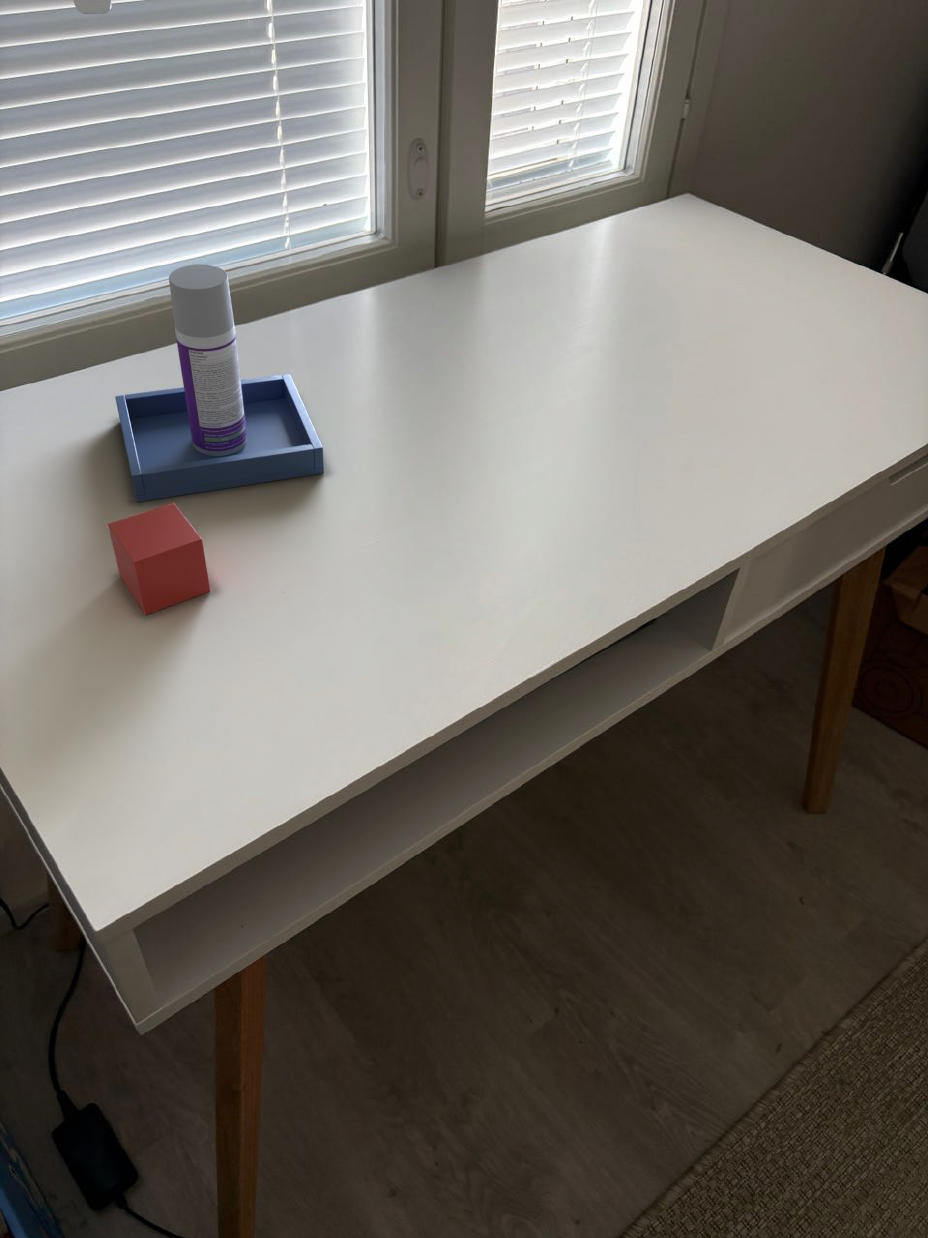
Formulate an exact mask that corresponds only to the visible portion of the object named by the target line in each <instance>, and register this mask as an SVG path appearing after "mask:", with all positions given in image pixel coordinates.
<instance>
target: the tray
mask: <svg viewBox="0 0 928 1238" xmlns="http://www.w3.org/2000/svg"><path fill="white" fill-rule="evenodd" d="M241 387H242V396H243V406H244V415H245V424H246V433H247V443H246V445H245V446H244V447H243V448H242V449H241V450H239V451H238V452H236V453H233V454H230V455H225V456H210V455H205V454H203V453H200V452H199V451H197V450H196V449H195V448H194V446H193V442H192V436H191V430H190V423H189V417H188V411H187V404H186V398H185V391H184V386H183V387H175V388H167V389H158V390H151V391H144V392H136V393H127V394H122V395H116V396H115V398H114V400H115V405H116V408H117V412H118V418H119V423H120V427H121V433H122V437H123V443H124V447H125V453H126V456H127V461H128V466H129V472H130V476H131V480H132V487H133V490H134V491H133V492H134V495H135V496H134V497H135V500H136V502H137V503H140V502H141V503H142V502H147V501H153V500H159V499H166V498H173V497H179V496H186V495H192V494H198V493H204V492H211V491H217V490H223V489H224V490H225V489H230V488H237V487H244V486H249V485H255V484H261V483H268V482H269V483H270V482H274V481H281V480H288V479H293V478H295V479H296V478H299V477H306V476H313V475H318V474H324V473H325V464H324V463H325V462H324V448H323V446H322V442H321V440H320V438H319V436H318V433H317V431H316V430H315V427H314V425H313V423H312V421H311V418H310V416H309V414H308V411H307V409H306V407H305V405H304V402H303V400H302V398H301V396H300V394H299V391H298V389H297V387H296V385H295V382H294V381H293V378H292V375H291V374H290V373H287V374H278V375H277V374H276V375H270V376H262V377H255V378H253V377H252V378H245V379H241Z"/></svg>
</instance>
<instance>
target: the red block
mask: <svg viewBox="0 0 928 1238" xmlns="http://www.w3.org/2000/svg"><path fill="white" fill-rule="evenodd" d="M107 527H108V531H109V536H110V540H111V544H112V549H113V553H114V557H115V562H116V565H117V569H118V574H119V577H120V579H121V580H122V582H123V583H124V585H125V586H126V588H127V589H128V591H129V592H130V594H131V595H132V598H133V599H134V600H135V601H136V603H137V604H138V606H139V607H140V609H141V611H142V612H143V613H144V615H145V616H147V615H151V614H153V613H156V612H158V611H161V610H164V609H167V608H169V607H172V606H174V605H177V604H180V603H183V602H185V601H188V600H190V599H193V598H197V597H199V596H202V595H204V594H207V593H210V592H211V587H210V581H209V574H208V567H207V561H206V556H205V549H204V543H203V542H204V541H203V539H202V537H201V536H200V534H199V533H198V532H197V530H196V529H195V528H194V527H193V525H192V524H191V522H190V521H189V520H188V519H187V518H186V516H185V515H184V514H183V513H182V511H181V510H180V509H179V508H178V506H177V505H176V504H175V502H172V503H169V504H165V505H161V506H158V507H156V508H152V509H150V510H146V511H143V512H140V513H137V514H134V515H131V516H128V517H124V518H122V519H119V520H116V521H113V522H109V523H107Z"/></svg>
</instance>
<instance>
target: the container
mask: <svg viewBox="0 0 928 1238" xmlns="http://www.w3.org/2000/svg"><path fill="white" fill-rule="evenodd" d="M168 282H169V283H168V284H169V290H170V300H171V308H172V314H173V315H172V316H173V323H174V329H175V330H174V331H175V340H176V346H177V352H178V359H179V365H180V371H181V372H180V373H181V379H182V384H183V387H184V391H185V398H186V404H187V411H188V417H189V423H190V430H191V436H192V442H193V446H194V448H195V449H196V450H197V451H199V452H200V453H203V454H205V455H210V456H225V455H230V454H233V453H236V452H238V451H239V450H241V449H242V448H243V447H244V446H245V445H246V443H247V433H246V424H245V415H244V406H243V396H242V387H241V380H242V379H241V371H240V362H239V351H238V344H237V343H238V342H237V333H236V326H235V320H234V313H233V306H232V298H231V292H230V291H231V290H230V285H229V277H228V273H227V271H225V270H224V269H223V268H221V267H219V266H215V265H211V264H189V265H184V266H181V267H178V268H176V269H174V270H173V271H172V272H171V273H170V274H169V276H168Z"/></svg>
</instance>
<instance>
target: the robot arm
mask: <svg viewBox="0 0 928 1238" xmlns="http://www.w3.org/2000/svg"><path fill="white" fill-rule="evenodd" d="M73 3H74V7H75V8H76V10H77V12H80V13H81V14H83V15H102V14H103V15H104V14H107V13H109V12H110V11H111V9H112V0H73Z"/></svg>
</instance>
